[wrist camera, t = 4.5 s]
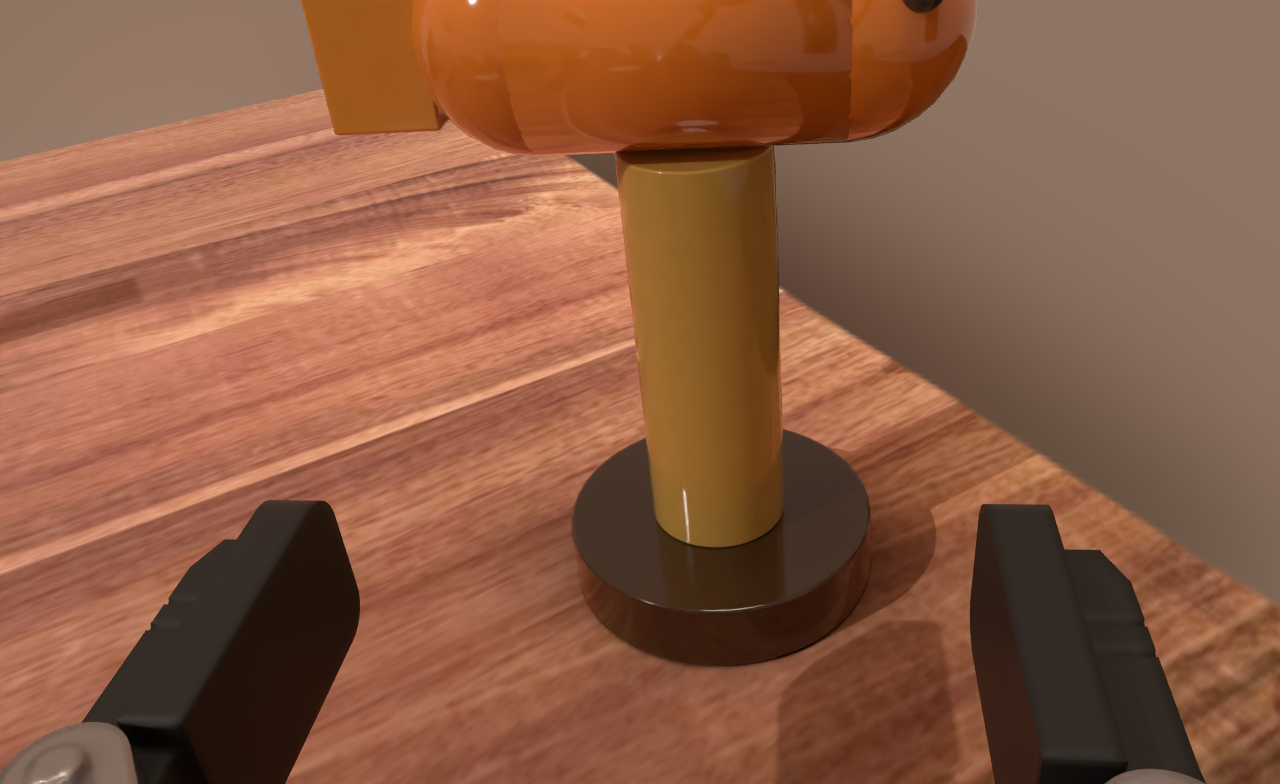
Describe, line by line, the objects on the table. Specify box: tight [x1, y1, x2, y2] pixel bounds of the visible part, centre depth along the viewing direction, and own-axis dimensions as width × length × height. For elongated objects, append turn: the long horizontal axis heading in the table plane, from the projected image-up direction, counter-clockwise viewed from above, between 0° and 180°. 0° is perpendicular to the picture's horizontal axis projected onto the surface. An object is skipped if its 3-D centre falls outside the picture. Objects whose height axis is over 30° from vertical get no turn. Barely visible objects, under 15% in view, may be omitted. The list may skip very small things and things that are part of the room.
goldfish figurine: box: [301, 0, 978, 665], centre depth 20 cm, size 11×6×14 cm, turn 83°
